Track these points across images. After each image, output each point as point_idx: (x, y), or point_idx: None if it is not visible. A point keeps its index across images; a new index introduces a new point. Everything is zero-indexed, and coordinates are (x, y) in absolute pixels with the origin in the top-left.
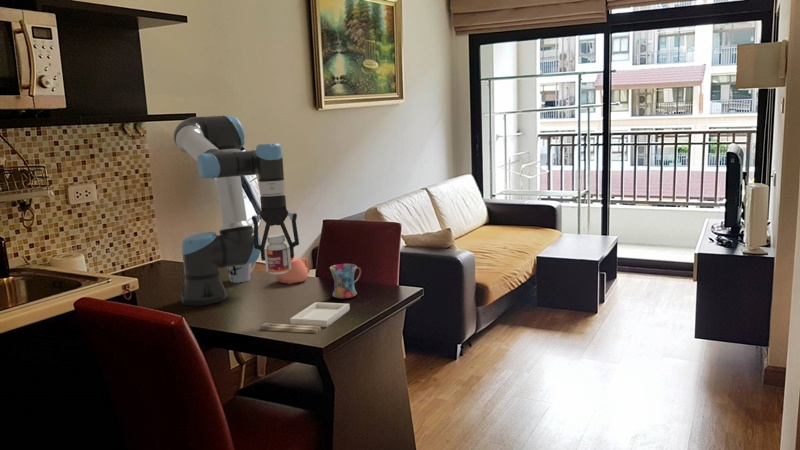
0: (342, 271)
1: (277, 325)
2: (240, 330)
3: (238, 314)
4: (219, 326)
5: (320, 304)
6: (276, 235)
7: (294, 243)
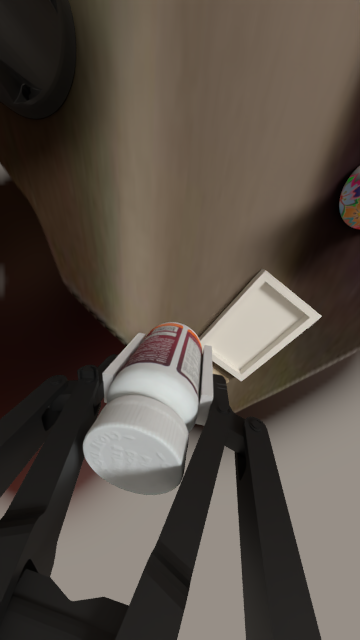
0: None
1: None
2: (126, 331)
3: (119, 241)
4: (96, 298)
5: (270, 285)
6: (134, 438)
7: (233, 444)
